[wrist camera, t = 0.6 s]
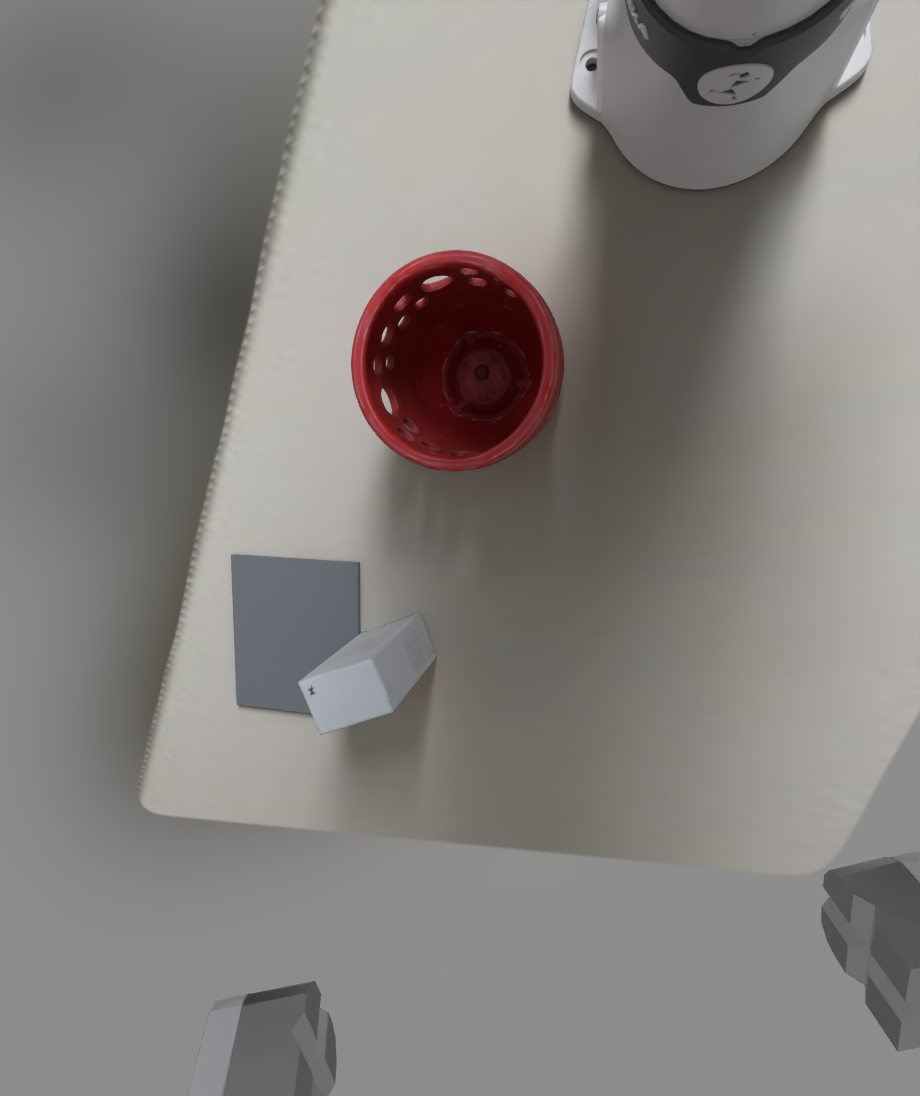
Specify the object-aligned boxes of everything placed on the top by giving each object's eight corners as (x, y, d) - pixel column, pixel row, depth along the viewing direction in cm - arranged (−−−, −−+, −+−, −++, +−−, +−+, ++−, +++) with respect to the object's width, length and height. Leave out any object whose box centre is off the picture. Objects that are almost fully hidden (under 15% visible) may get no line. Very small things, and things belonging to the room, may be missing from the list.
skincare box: (378, 677, 56) (317, 737, 45) (360, 632, 56) (294, 681, 44) (440, 657, 54) (394, 714, 43) (422, 611, 54) (370, 655, 43)
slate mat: (234, 554, 57) (230, 555, 57) (359, 562, 55) (357, 563, 54) (239, 702, 60) (236, 704, 59) (360, 717, 57) (358, 719, 56)
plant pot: (407, 295, 50) (346, 251, 39) (576, 291, 47) (565, 241, 36) (405, 463, 52) (346, 467, 41) (567, 468, 50) (553, 475, 38)
